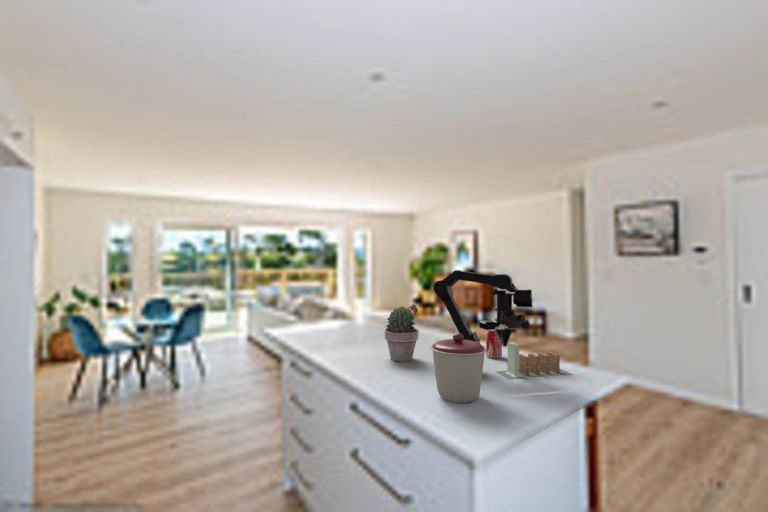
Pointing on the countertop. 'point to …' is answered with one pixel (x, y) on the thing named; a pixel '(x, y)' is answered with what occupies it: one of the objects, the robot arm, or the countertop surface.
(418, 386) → the countertop surface
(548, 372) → the tile
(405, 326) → the potted plant
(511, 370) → the tile
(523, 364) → the tile
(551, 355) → the end tile
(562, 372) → the domino mat
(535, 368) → the tile
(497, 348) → the soda can
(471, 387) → the canister
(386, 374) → the countertop surface
